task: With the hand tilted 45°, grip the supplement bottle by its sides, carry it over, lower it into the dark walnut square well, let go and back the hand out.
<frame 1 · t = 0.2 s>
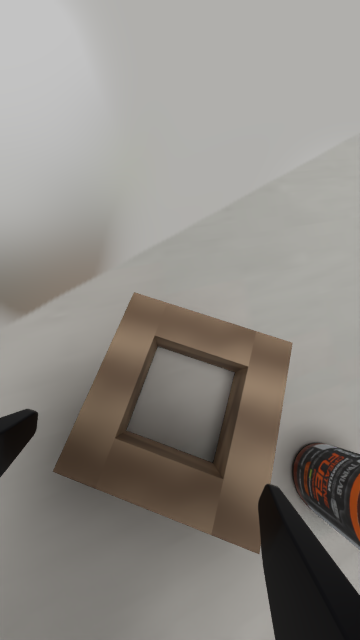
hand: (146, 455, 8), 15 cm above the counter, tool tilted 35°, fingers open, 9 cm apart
supplement bottle: (319, 476, 21), on the counter
walnut well: (183, 399, 23), on the counter
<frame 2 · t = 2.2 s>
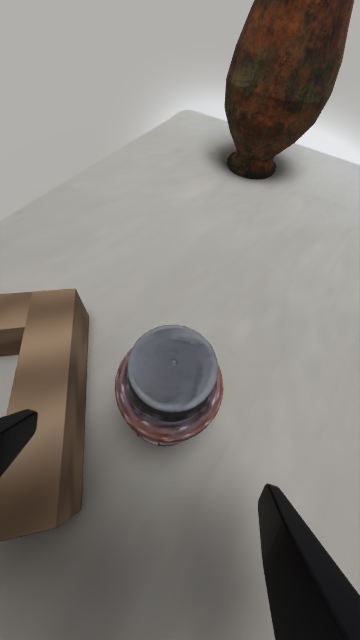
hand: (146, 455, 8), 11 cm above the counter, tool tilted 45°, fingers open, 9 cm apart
supplement bottle: (165, 408, 19), on the counter
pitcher: (253, 163, 46), on the counter
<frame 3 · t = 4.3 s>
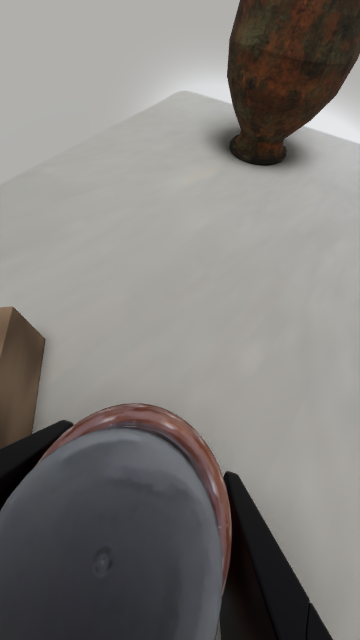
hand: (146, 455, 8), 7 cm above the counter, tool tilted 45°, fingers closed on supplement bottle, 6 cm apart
supplement bottle: (143, 479, 13), on the counter, touching gripper
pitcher: (260, 148, 40), on the counter
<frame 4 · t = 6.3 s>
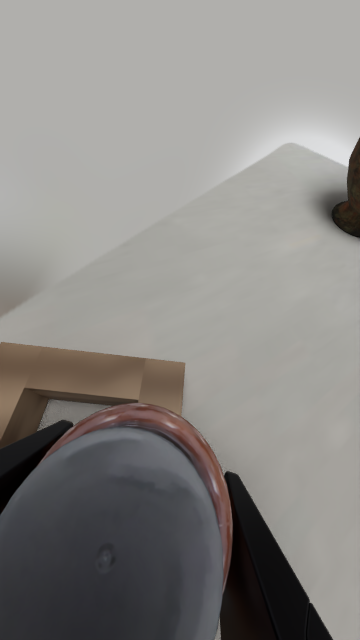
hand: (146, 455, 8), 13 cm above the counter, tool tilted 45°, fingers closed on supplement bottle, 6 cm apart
supplement bottle: (144, 478, 13), point 6 cm above the counter, touching gripper
walnut well: (80, 458, 19), on the counter
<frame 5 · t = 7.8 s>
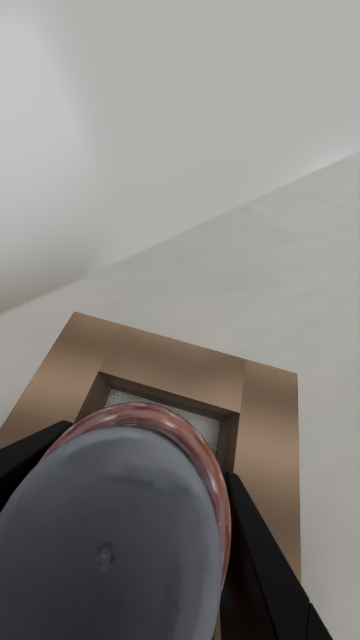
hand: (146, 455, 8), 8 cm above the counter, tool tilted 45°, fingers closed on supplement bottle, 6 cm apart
supplement bottle: (143, 478, 13), point 2 cm above the counter, touching gripper
walnut well: (146, 471, 15), on the counter
when the fingers open (8 cm above the counter, at t = 8.7 s): supplement bottle drops 2 cm, resting in walnut well.
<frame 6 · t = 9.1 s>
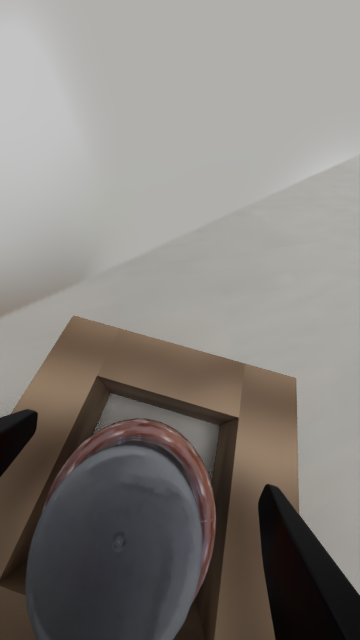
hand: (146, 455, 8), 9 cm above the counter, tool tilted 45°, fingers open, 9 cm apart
supplement bottle: (144, 479, 15), resting in walnut well
walnut well: (145, 476, 15), on the counter
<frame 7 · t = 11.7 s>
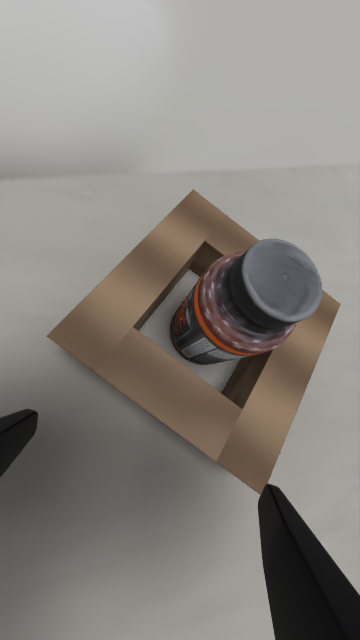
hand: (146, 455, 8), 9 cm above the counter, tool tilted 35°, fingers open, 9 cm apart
supplement bottle: (200, 333, 20), resting in walnut well
walnut well: (201, 330, 20), on the counter
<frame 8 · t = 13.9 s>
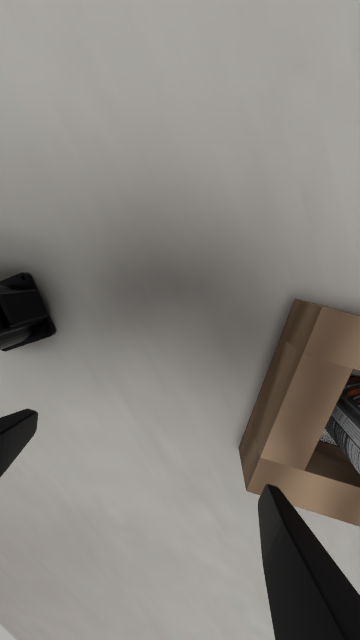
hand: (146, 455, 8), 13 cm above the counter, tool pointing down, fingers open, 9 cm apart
supplement bottle: (346, 403, 20), resting in walnut well
walnut well: (349, 404, 20), on the counter
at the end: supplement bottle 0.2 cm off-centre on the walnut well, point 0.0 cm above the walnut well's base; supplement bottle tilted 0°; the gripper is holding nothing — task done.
